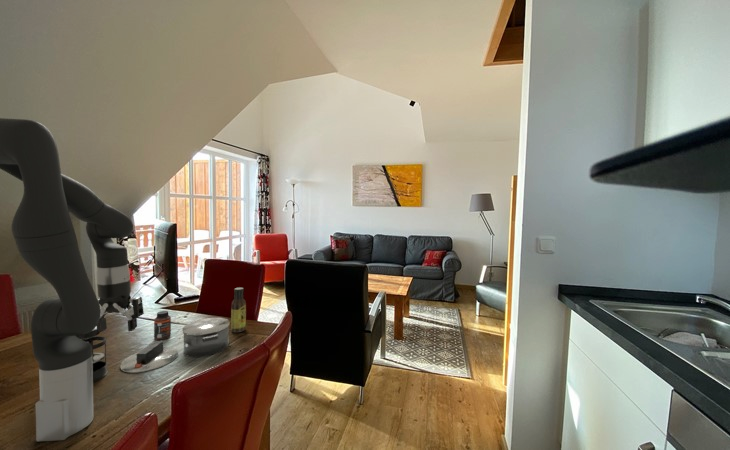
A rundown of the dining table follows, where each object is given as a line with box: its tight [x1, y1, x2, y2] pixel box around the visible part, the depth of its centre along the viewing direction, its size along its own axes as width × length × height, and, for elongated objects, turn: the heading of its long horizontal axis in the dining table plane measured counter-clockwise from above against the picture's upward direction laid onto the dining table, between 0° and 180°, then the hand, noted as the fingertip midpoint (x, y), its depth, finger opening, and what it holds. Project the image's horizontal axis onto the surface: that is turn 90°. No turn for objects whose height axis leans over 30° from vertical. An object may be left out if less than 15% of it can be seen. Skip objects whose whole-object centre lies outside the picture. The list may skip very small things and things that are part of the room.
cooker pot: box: [181, 317, 231, 358], centre depth 114 cm, size 22×17×9 cm
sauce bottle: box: [230, 287, 247, 333], centre depth 131 cm, size 6×6×20 cm
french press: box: [76, 326, 109, 383], centre depth 91 cm, size 12×9×23 cm
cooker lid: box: [120, 340, 179, 374], centre depth 104 cm, size 17×17×5 cm
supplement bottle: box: [153, 310, 172, 341], centre depth 122 cm, size 6×6×11 cm
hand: (117, 330), depth 87 cm, fingers open, 8 cm apart
